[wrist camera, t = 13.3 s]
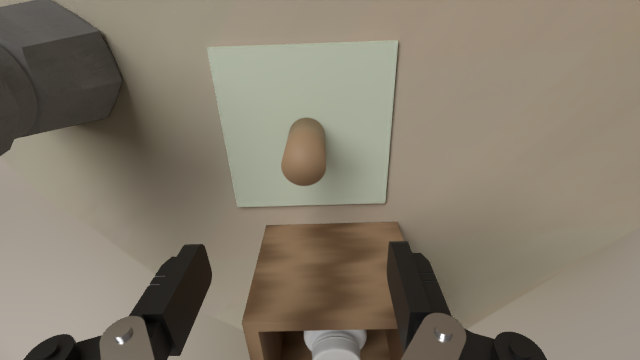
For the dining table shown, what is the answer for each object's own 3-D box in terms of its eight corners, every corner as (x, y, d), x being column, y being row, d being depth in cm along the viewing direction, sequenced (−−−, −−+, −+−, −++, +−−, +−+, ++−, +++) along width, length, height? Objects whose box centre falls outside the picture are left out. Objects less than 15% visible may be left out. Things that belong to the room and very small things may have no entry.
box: (397, 222, 31) (431, 318, 21) (387, 310, 37) (411, 416, 27) (266, 225, 31) (241, 322, 21) (278, 313, 37) (264, 418, 28)
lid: (395, 39, 24) (421, 49, 17) (383, 197, 30) (399, 245, 24) (210, 46, 24) (172, 58, 18) (239, 201, 30) (219, 249, 24)
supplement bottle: (368, 271, 34) (385, 365, 25) (332, 296, 36) (336, 392, 27) (332, 243, 32) (337, 334, 23) (296, 271, 34) (287, 365, 25)
